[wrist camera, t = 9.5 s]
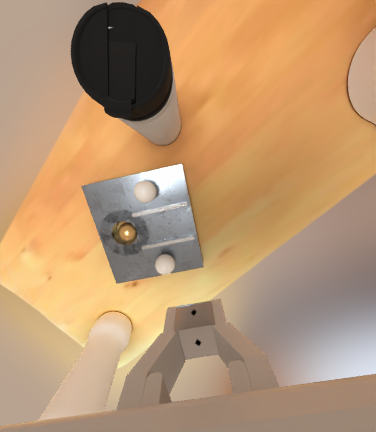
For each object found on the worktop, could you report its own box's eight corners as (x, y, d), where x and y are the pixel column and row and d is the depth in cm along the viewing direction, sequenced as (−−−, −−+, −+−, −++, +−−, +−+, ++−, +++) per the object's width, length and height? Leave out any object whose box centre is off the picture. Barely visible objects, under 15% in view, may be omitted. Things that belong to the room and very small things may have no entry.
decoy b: (155, 177, 30) (151, 179, 26) (160, 198, 31) (157, 202, 27) (134, 182, 30) (127, 184, 26) (140, 202, 31) (134, 207, 27)
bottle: (136, 313, 40) (-1, 710, 11) (130, 341, 42) (0, 739, 13) (99, 306, 39) (-152, 702, 10) (94, 335, 41) (-126, 734, 12)
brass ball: (134, 218, 35) (136, 221, 31) (139, 235, 35) (141, 240, 32) (115, 223, 34) (115, 227, 30) (121, 240, 34) (121, 246, 31)
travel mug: (142, 146, 31) (67, 111, 11) (143, 102, 29) (57, -26, 10) (179, 149, 31) (166, 120, 12) (182, 106, 29) (172, -13, 10)
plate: (182, 164, 32) (181, 163, 28) (202, 260, 36) (204, 269, 33) (89, 184, 32) (78, 186, 29) (121, 276, 37) (115, 286, 34)
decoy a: (173, 249, 33) (171, 258, 30) (177, 265, 34) (176, 276, 31) (154, 252, 33) (150, 262, 30) (159, 269, 34) (156, 280, 31)
